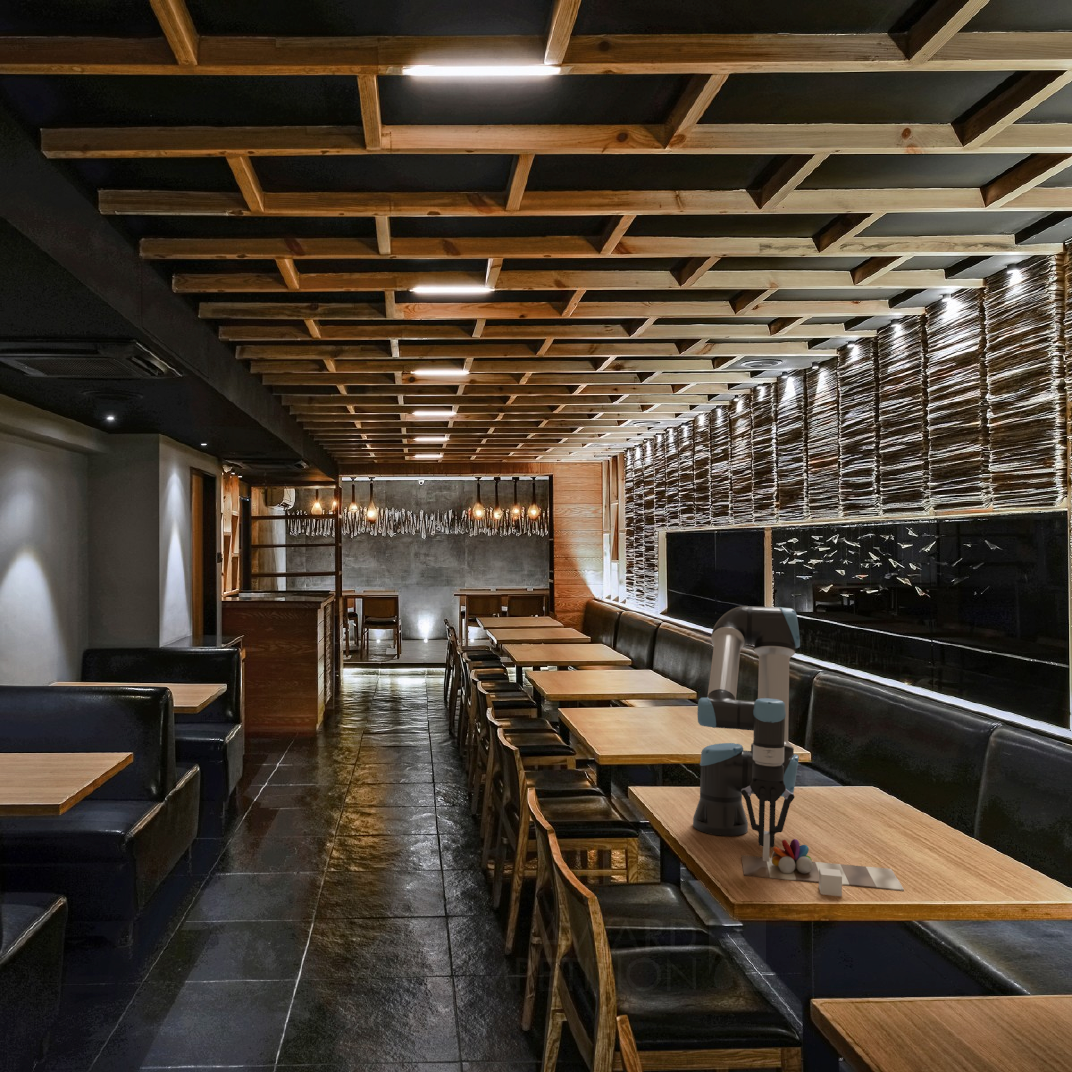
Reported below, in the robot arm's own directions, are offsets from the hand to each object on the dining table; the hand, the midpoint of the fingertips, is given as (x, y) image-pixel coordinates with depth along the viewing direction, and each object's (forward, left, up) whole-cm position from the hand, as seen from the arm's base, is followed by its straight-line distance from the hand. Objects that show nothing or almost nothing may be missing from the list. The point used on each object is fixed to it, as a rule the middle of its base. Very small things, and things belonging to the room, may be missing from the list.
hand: (765, 859), depth 209 cm
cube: (+14, -12, -2) cm, 18 cm away
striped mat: (+12, 0, -2) cm, 13 cm away
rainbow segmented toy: (+6, 0, -2) cm, 6 cm away
